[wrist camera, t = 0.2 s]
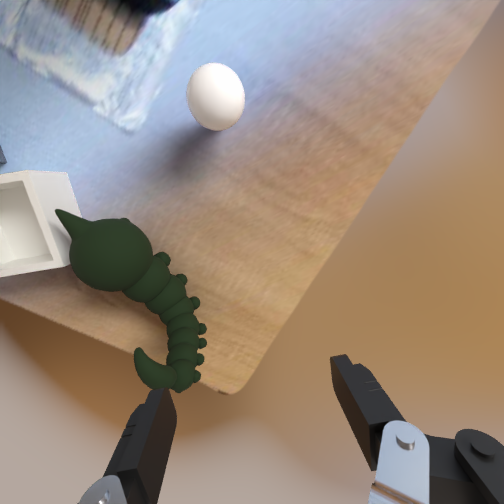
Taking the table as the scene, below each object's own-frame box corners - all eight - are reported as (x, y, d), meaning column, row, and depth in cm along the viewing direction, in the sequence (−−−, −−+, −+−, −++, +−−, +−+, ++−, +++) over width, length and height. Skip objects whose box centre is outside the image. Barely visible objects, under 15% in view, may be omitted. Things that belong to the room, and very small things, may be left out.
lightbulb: (246, 137, 36) (250, 118, 25) (202, 144, 36) (188, 128, 25) (239, 87, 34) (240, 45, 24) (193, 94, 34) (173, 55, 24)
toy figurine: (222, 299, 44) (115, 179, 36) (221, 390, 27) (11, 196, 18) (180, 327, 45) (67, 218, 37) (153, 434, 28) (-76, 269, 19)
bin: (-18, 185, 36) (-77, 186, 29) (66, 172, 36) (27, 170, 29) (16, 264, 39) (-30, 282, 32) (93, 252, 39) (64, 266, 32)
